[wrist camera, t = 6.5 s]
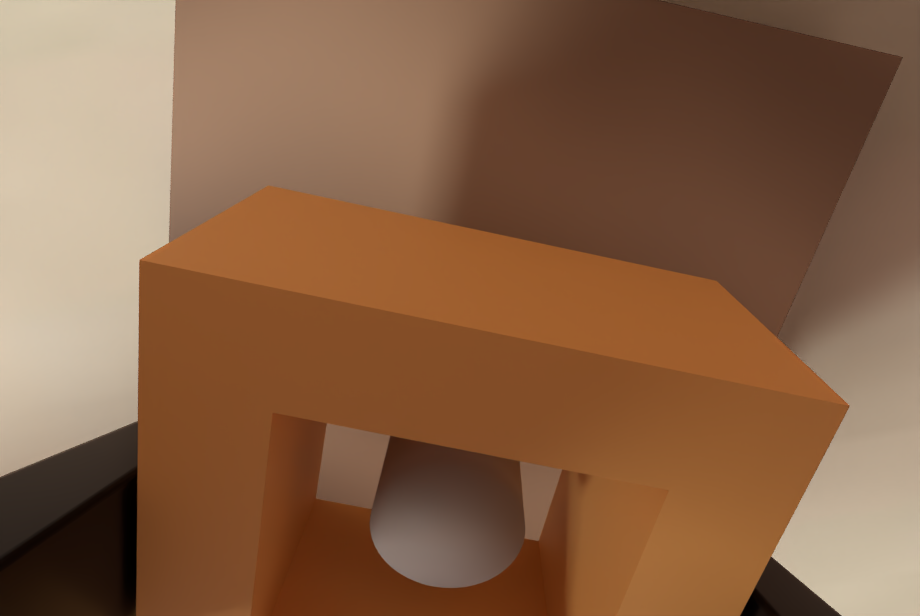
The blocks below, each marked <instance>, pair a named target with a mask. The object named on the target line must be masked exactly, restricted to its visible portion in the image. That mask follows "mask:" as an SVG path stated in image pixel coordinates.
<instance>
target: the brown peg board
mask: <svg viewBox="0 0 920 616" xmlns="http://www.w3.org/2000/svg"><path fill="white" fill-rule="evenodd" d="M902 58H903V57H899V56H895V55H891V54H886V53H882V52H878V51H874V50H869V49H865V48H861V47H856V46H852V45H848V44H844V43H839V42H835V41H831V40H826V39H822V38H818V37H814V36H809V35H805V34H801V33H796V32H792V31H788V30H784V29H779V28H775V27H771V26H766V25H762V24H758V23H754V22H749V21H745V20H741V19H736V18H732V17H728V16H724V15H719V14H715V13H711V12H706V11H702V10H698V9H694V8H689V7H685V6H681V5H676V4H672V3H668V2H664V1H659V0H176V10H175V46H174V82H173V118H172V154H171V190H170V226H169V243H170V242H171V241H173V240H175V239H177V238H178V237H180V236H182V235H184V234H185V233H187V232H189V231H190V230H192V229H194V228H196V227H197V226H199V225H201V224H203V223H204V222H206V221H208V220H209V219H211V218H213V217H215V216H216V215H218V214H220V213H222V212H223V211H225V210H227V209H229V208H230V207H232V206H234V205H235V204H237V203H239V202H241V201H242V200H244V199H246V198H248V197H249V196H251V195H253V194H254V193H256V192H258V191H260V190H261V189H263V188H265V187H267V186H268V185H269V186H274V187H278V188H283V189H288V190H293V191H297V192H302V193H307V194H311V195H316V196H321V197H325V198H330V199H335V200H339V201H344V202H349V203H354V204H358V205H363V206H368V207H372V208H377V209H382V210H386V211H391V212H396V213H401V214H405V215H410V216H415V217H419V218H424V219H429V220H433V221H438V222H443V223H447V224H452V225H457V226H462V227H466V228H471V229H476V230H480V231H485V232H490V233H494V234H499V235H504V236H508V237H513V238H518V239H523V240H527V241H532V242H537V243H541V244H546V245H551V246H555V247H560V248H565V249H570V250H574V251H579V252H584V253H588V254H593V255H598V256H602V257H607V258H612V259H616V260H621V261H626V262H631V263H635V264H640V265H645V266H649V267H654V268H659V269H663V270H668V271H673V272H677V273H682V274H687V275H692V276H696V277H701V278H706V279H710V280H715V281H717V282H718V283H719V284H720V285H722V286H723V287H724V288H725V289H726V290H727V291H728V292H729V293H730V294H731V295H732V296H733V297H734V298H735V299H736V300H738V301H739V302H740V303H741V304H742V305H743V306H744V307H745V308H746V309H747V310H748V311H749V312H750V313H751V314H752V315H753V316H755V317H756V318H757V319H758V320H759V321H760V322H761V323H762V324H763V325H764V326H765V327H766V328H767V329H768V330H769V331H771V332H772V333H773V334H774V335H775V336H776V337H777V336H778V334H779V331H780V329H781V327H782V325H783V322H784V320H785V318H786V316H787V314H788V311H789V309H790V307H791V305H792V302H793V300H794V298H795V296H796V294H797V291H798V289H799V287H800V285H801V282H802V280H803V278H804V276H805V274H806V271H807V269H808V267H809V265H810V262H811V260H812V258H813V256H814V254H815V251H816V249H817V247H818V245H819V242H820V240H821V238H822V236H823V233H824V231H825V229H826V227H827V225H828V222H829V220H830V218H831V216H832V213H833V211H834V209H835V207H836V205H837V202H838V200H839V198H840V196H841V193H842V191H843V189H844V187H845V185H846V182H847V180H848V178H849V176H850V173H851V171H852V169H853V167H854V165H855V162H856V160H857V158H858V156H859V153H860V151H861V149H862V147H863V145H864V142H865V140H866V138H867V136H868V133H869V131H870V129H871V127H872V125H873V122H874V120H875V118H876V116H877V113H878V111H879V109H880V107H881V105H882V102H883V100H884V98H885V96H886V93H887V91H888V89H889V87H890V85H891V82H892V80H893V78H894V76H895V73H896V71H897V69H898V67H899V65H900V62H901V60H902ZM561 472H562V469H557V468H552V467H547V466H542V465H537V464H532V463H527V462H522V461H517V460H512V459H506V458H501V457H496V456H491V455H486V454H481V453H476V452H471V451H466V450H461V449H456V448H450V447H445V446H440V445H435V444H430V443H425V442H420V441H415V440H410V439H405V438H399V437H394V436H389V435H384V434H379V433H374V432H369V431H364V430H359V429H354V428H349V427H343V426H338V425H333V424H328V423H327V426H326V433H325V440H324V447H323V453H322V460H321V467H320V474H319V480H318V487H317V494H316V499H321V500H326V501H331V502H337V503H342V504H347V505H352V506H358V507H363V508H368V509H372V511H371V515H370V532H371V537H372V540H373V543H374V545H375V547H376V549H377V551H378V552H379V554H380V555H381V557H382V558H383V559H384V560H385V561H386V562H387V563H388V564H389V565H390V566H391V567H392V568H393V569H394V570H396V571H397V572H398V573H400V574H402V575H403V576H405V577H407V578H409V579H411V580H413V581H416V582H419V583H422V584H425V585H429V586H434V587H441V588H460V587H467V586H472V585H476V584H480V583H482V582H485V581H487V580H490V579H492V578H493V577H495V576H497V575H498V574H500V573H501V572H503V571H504V570H505V569H506V568H507V567H508V566H510V565H511V563H512V562H513V561H514V560H515V559H516V557H517V555H518V554H519V552H520V550H521V548H522V545H523V542H524V538H525V539H531V540H536V541H539V538H540V535H541V532H542V529H543V526H544V523H545V520H546V517H547V514H548V511H549V508H550V505H551V502H552V499H553V496H554V493H555V490H556V487H557V484H558V481H559V478H560V475H561Z"/></svg>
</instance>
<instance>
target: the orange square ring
mask: <svg viewBox="0 0 920 616" xmlns="http://www.w3.org/2000/svg"><path fill="white" fill-rule="evenodd" d="M848 408H849V405H848V404H847V403H846V402H845V401H844V400H843V399H842V398H841V397H840V396H839V395H838V394H837V393H835V392H834V391H833V390H832V389H831V388H830V387H829V386H828V385H827V384H826V383H825V382H824V381H823V380H822V379H821V378H820V377H818V376H817V375H816V374H815V373H814V372H813V371H812V370H811V369H810V368H809V367H808V366H807V365H806V364H805V363H804V362H802V361H801V360H800V359H799V358H798V357H797V356H796V355H795V354H794V353H793V352H792V351H791V350H790V349H789V348H788V347H786V346H785V345H784V344H783V343H782V342H781V341H780V340H779V339H778V338H777V337H776V336H775V335H774V334H773V333H772V332H771V331H769V330H768V329H767V328H766V327H765V326H764V325H763V324H762V323H761V322H760V321H759V320H758V319H757V318H756V317H755V316H753V315H752V314H751V313H750V312H749V311H748V310H747V309H746V308H745V307H744V306H743V305H742V304H741V303H740V302H739V301H738V300H736V299H735V298H734V297H733V296H732V295H731V294H730V293H729V292H728V291H727V290H726V289H725V288H724V287H723V286H722V285H720V284H719V283H718V282H717V281H715V280H710V279H706V278H701V277H696V276H692V275H687V274H682V273H677V272H673V271H668V270H663V269H659V268H654V267H649V266H645V265H640V264H635V263H631V262H626V261H621V260H616V259H612V258H607V257H602V256H598V255H593V254H588V253H584V252H579V251H574V250H570V249H565V248H560V247H555V246H551V245H546V244H541V243H537V242H532V241H527V240H523V239H518V238H513V237H508V236H504V235H499V234H494V233H490V232H485V231H480V230H476V229H471V228H466V227H462V226H457V225H452V224H447V223H443V222H438V221H433V220H429V219H424V218H419V217H415V216H410V215H405V214H401V213H396V212H391V211H386V210H382V209H377V208H372V207H368V206H363V205H358V204H354V203H349V202H344V201H339V200H335V199H330V198H325V197H321V196H316V195H311V194H307V193H302V192H297V191H293V190H288V189H283V188H278V187H274V186H269V185H268V186H267V187H265V188H263V189H261V190H260V191H258V192H256V193H254V194H253V195H251V196H249V197H248V198H246V199H244V200H242V201H241V202H239V203H237V204H235V205H234V206H232V207H230V208H229V209H227V210H225V211H223V212H222V213H220V214H218V215H216V216H215V217H213V218H211V219H209V220H208V221H206V222H204V223H203V224H201V225H199V226H197V227H196V228H194V229H192V230H190V231H189V232H187V233H185V234H184V235H182V236H180V237H178V238H177V239H175V240H173V241H171V242H170V243H168V244H166V245H165V246H163V247H161V248H159V249H158V250H156V251H154V252H152V253H151V254H149V255H147V256H145V257H144V258H142V259H140V263H139V368H138V474H137V579H136V616H740V615H741V613H742V611H743V609H744V607H745V605H746V603H747V601H748V600H749V598H750V596H751V594H752V592H753V590H754V588H755V586H756V584H757V582H758V580H759V579H760V577H761V575H762V573H763V571H764V569H765V567H766V565H767V563H768V561H769V559H770V557H771V556H772V554H773V552H774V550H775V548H776V546H777V544H778V542H779V540H780V538H781V536H782V535H783V533H784V531H785V529H786V527H787V525H788V523H789V521H790V519H791V517H792V515H793V514H794V512H795V510H796V508H797V506H798V504H799V502H800V500H801V498H802V496H803V494H804V492H805V491H806V489H807V487H808V485H809V483H810V481H811V479H812V477H813V475H814V473H815V471H816V470H817V468H818V466H819V464H820V462H821V460H822V458H823V456H824V454H825V452H826V450H827V449H828V447H829V445H830V443H831V441H832V439H833V437H834V435H835V433H836V431H837V429H838V427H839V426H840V424H841V422H842V420H843V418H844V416H845V414H846V412H847V410H848ZM327 423H328V424H333V425H338V426H343V427H349V428H354V429H359V430H364V431H369V432H374V433H379V434H384V435H389V436H394V437H399V438H405V439H410V440H415V441H420V442H425V443H430V444H435V445H440V446H445V447H450V448H456V449H461V450H466V451H471V452H476V453H481V454H486V455H491V456H496V457H501V458H506V459H512V460H517V461H522V462H527V463H532V464H537V465H542V466H547V467H552V468H557V469H562V472H561V475H560V478H559V481H558V484H557V487H556V490H555V493H554V496H553V499H552V502H551V505H550V508H549V511H548V514H547V517H546V520H545V523H544V526H543V529H542V532H541V535H540V538H539V541H536V540H531V539H525V538H524V542H523V545H522V548H521V550H520V552H519V554H518V555H517V557H516V559H515V560H514V561H513V562H512V563H511V565H510V566H508V567H507V568H506V569H505V570H504V571H503V572H501V573H500V574H498V575H497V576H495V577H493V578H492V579H490V580H487V581H485V582H482V583H480V584H476V585H472V586H467V587H460V588H441V587H434V586H429V585H425V584H422V583H419V582H416V581H413V580H411V579H409V578H407V577H405V576H403V575H402V574H400V573H398V572H397V571H396V570H394V569H393V568H392V567H391V566H390V565H389V564H388V563H387V562H386V561H385V560H384V559H383V558H382V557H381V555H380V554H379V552H378V551H377V549H376V547H375V545H374V543H373V540H372V537H371V532H370V515H371V511H372V509H368V508H363V507H358V506H352V505H347V504H342V503H337V502H331V501H326V500H321V499H316V494H317V487H318V480H319V474H320V467H321V460H322V453H323V447H324V440H325V433H326V426H327Z"/></svg>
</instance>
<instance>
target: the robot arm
mask: <svg viewBox="0 0 920 616" xmlns="http://www.w3.org/2000/svg"><path fill="white" fill-rule="evenodd" d="M137 474H138V421H137V422H135V423H132V424H130V425H127V426H125V427H122V428H120V429H117V430H115V431H112V432H110V433H107V434H105V435H103V436H100V437H98V438H95V439H93V440H90V441H88V442H85V443H83V444H80V445H78V446H75V447H73V448H71V449H68V450H66V451H63V452H61V453H58V454H56V455H53V456H51V457H48V458H46V459H44V460H41V461H39V462H36V463H34V464H31V465H29V466H26V467H24V468H21V469H19V470H16V471H14V472H12V473H9V474H7V475H4V476H2V477H0V616H136V579H137ZM740 616H841V615H840V614H839V613H838V612H837V611H835V610H834V609H833V608H832V607H831V606H829V605H828V604H827V603H826V602H825V601H823V600H822V599H821V598H820V597H819V596H817V595H816V594H815V593H814V592H813V591H812V590H810V589H809V588H808V587H807V586H806V585H804V584H803V583H802V582H801V581H800V580H798V579H797V578H796V577H795V576H794V575H792V574H791V573H790V572H789V571H788V570H786V569H785V568H784V567H783V566H782V565H781V564H779V563H778V562H777V561H776V560H775V559H773V558H772V557H770V559H769V561H768V563H767V565H766V567H765V569H764V571H763V573H762V575H761V577H760V579H759V580H758V582H757V584H756V586H755V588H754V590H753V592H752V594H751V596H750V598H749V600H748V601H747V603H746V605H745V607H744V609H743V611H742V613H741V615H740Z"/></svg>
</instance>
